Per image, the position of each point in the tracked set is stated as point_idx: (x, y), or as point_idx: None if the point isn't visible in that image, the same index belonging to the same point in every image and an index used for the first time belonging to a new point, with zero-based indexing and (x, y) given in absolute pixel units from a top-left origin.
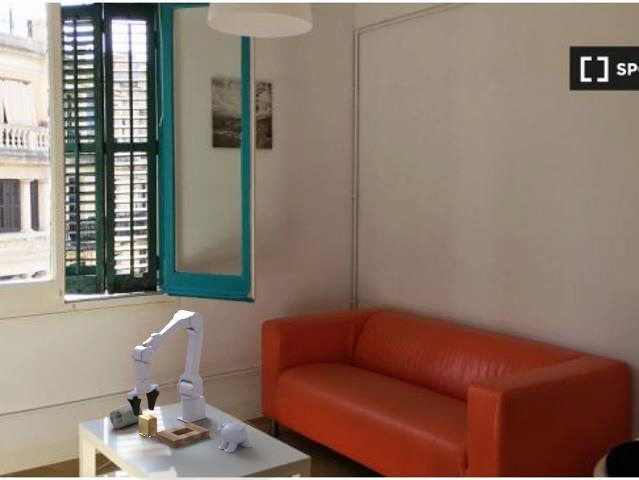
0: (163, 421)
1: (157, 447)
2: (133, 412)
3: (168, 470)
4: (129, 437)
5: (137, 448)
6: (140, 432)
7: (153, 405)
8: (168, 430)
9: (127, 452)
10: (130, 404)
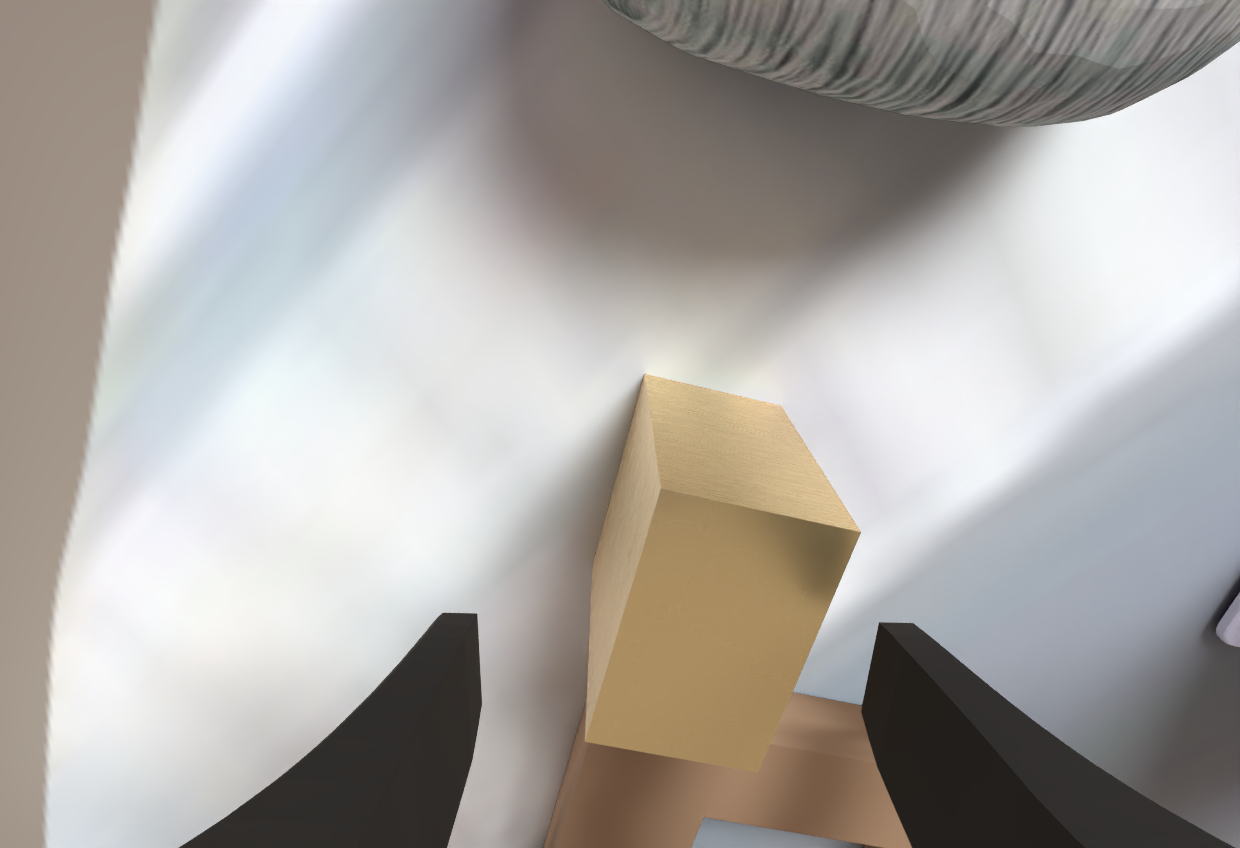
0: (1208, 324)
1: None
2: (412, 652)
3: None
4: (472, 367)
5: (291, 671)
6: (635, 422)
7: (906, 827)
8: (742, 774)
9: (146, 664)
10: (260, 797)
